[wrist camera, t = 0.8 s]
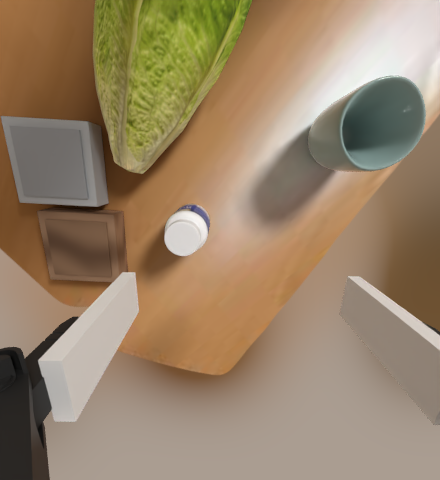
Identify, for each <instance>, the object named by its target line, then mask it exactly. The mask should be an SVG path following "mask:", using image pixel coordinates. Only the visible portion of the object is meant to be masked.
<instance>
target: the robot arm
mask: <svg viewBox="0 0 440 480" xmlns="http://www.w3.org/2000/svg"><path fill="white" fill-rule="evenodd" d="M138 312H139V307H138V296H137V286H136V276H135V272H122V273H121V274H120V275H119V277H118V278H117V279H116V280H115V281H114V282H113V283H112V284H111V285H110V286H109V287H108V288H107V289H106V290H105V291H104V292H103V293H102V294H101V295H100V296H99V297H98V298H97V299H96V301H95V302H94V303H93V304H92V305H91V306H90V307H89V308H88V309H87V310H86V311H85V312H84V313H83V314H82V315H81V316H80V317H72V318H70V319H68V320H67V321H65V322H64V323H62V324H60V325H59V327H58V328H56V329H55V330H54V331H53V333H52V334H50V335H49V336H48V337H47V338H46V339H45V341H43V342H42V343H41V344H40V345H39V346H38V347H37V348H36V349H35V350H33V351H32V353H30V354H29V355H28V356H27V357H26V358H25V359H24V355H23V352H22V350H21V349H20V348H17V347H8V348H3V349H0V480H50V478H49V469H48V457H47V446H46V437H45V427H44V423H43V421H44V419H45V418H46V416H47V415H48V414H49V412H50V411H51V410H52V414H53V418H54V421H64V422H66V421H67V422H69V421H70V422H76V420H77V418H78V417H79V415H80V413H81V412H82V410H83V408H84V407H85V405H86V403H87V401H88V400H89V398H90V396H91V394H92V392H93V390H94V389H95V387H96V385H97V384H98V382H99V380H100V378H101V377H102V375H103V373H104V372H105V370H106V368H107V366H108V365H109V362H110V361H111V359H112V358H113V356H114V354H115V352H116V351H117V349H118V347H119V345H120V344H121V342H122V340H123V338H124V337H125V335H126V333H127V331H128V330H129V328H130V326H131V324H132V323H133V321H134V319H135V317H136V316H137V314H138ZM340 316H341V317H342V318H343V319H344V320H345V322H346V323H347V324H348V325H349V326H350V327H351V329H352V330H353V331H354V332H355V333H356V334H357V336H358V337H359V338H360V339H361V340H362V341H363V343H364V344H365V345H366V346H367V347H368V348H369V349H370V351H371V352H372V353H373V354H374V355H375V356H376V358H377V359H378V360H379V361H380V362H381V363H382V365H383V366H384V367H385V368H386V369H387V370H388V372H389V373H390V374H391V375H392V376H393V378H394V379H395V380H396V381H397V382H398V383H399V385H400V386H401V387H402V388H403V389H404V391H406V393H407V394H408V395H409V396H410V397H411V399H412V400H413V401H414V402H415V403H416V404H417V406H418V407H419V408H420V409H421V410H422V412H423V413H424V414H425V415H426V416H427V417H428V418H429V420H430V421H431V422H432V423H433V424H435V425H437V424H438V425H440V332H439V331H438V330H436V329H435V328H433V327H431V326H429V325H427V324H425V323H423V322H421V321H419V320H418V319H417V318H415V317H414V316H413V315H411V314H410V313H409V312H407V311H406V310H405V309H403V308H402V307H400V306H399V305H398V304H396V303H395V302H393V301H392V300H391V299H389V298H388V297H387V296H385V295H384V294H383V293H381V292H380V291H378V290H377V289H376V288H374V287H373V286H372V285H370V284H369V283H368V282H366V281H365V280H364V279H362V278H361V277H358V276H348V277H347V281H346V285H345V290H344V295H343V300H342V305H341V309H340Z"/></svg>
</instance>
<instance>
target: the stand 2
mask: <svg viewBox="0 0 440 480" xmlns="http://www.w3.org/2000/svg"><path fill="white" fill-rule="evenodd" d="M37 214H38V219H39V224H40V229H41V234H42V239H43V244H44V249H45V254H46V259H47V265H48V270H49V275H50V279H53V280H74V281H96V282H114V281H115V280H116V279H117V278H118V277H119V275H120V274H121V273H122V272H128V266H127V253H126V241H125V228H124V216H123V211H114V210H95V209H76V208H57V207H52V208H48V209H43V210H39V211H37Z"/></svg>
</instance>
